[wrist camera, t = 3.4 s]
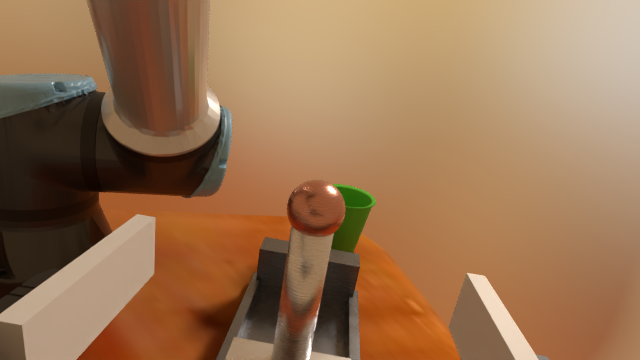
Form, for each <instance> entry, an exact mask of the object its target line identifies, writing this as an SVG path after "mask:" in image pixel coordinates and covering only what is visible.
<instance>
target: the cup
mask: <svg viewBox="0 0 640 360" xmlns="http://www.w3.org/2000/svg"><path fill="white" fill-rule="evenodd" d="M332 185H333V186H335V187H336V188H337V189H338V190H339V191H340V193H341V194H342V196H343V199H344V202H345V209H346V211H345V217H344V220H343V222H342V224H341V226H340V227H339V228H338V229H337V230H336V231H335V232H334V235H333V240H332V246H331V249H333V250H339V251H345V252H350V253H353V252H354V249H355V247H356V244H357V242H358V239H359V237H360V235H361V232H362V230H363V227H364V225H365V222H366V220H367V217H368V215H369V212H370V210H371V208H372V207H373V206H374V205H375V203H376V202H375V198H374V197H373V196H372V195H371V194H369V193H368V192H366V191H364V190H361V189H359V188H355V187H352V186H347V185H339V184H332Z"/></svg>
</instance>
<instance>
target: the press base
mask: <svg viewBox="0 0 640 360" xmlns="http://www.w3.org/2000/svg"><path fill="white" fill-rule="evenodd" d="M288 246H289V241H284V240H278V239H273V238H267V237H265V239H264V241H263V243H262V245H261V247H260V252H259V260H258V268H257V272H254V274H253V276H252V279H251V281H250V283H249V285H248V288H247V290H246V292H245V295H244V297H243V299H242V301H241V304H240V306H239V308H238V311H237V313H236V315H235V317H234V320H233V322H232V324H231V326H230V329H229V331H228V333H227V336H226V338H225V340H224V342H223V345H222V347H221V349H220V352H219V354H218V356H217V358H216V360H225V358H226V356H227V353H228V351H229V348H230V346H231V344H232V341H233V339H234V337H237V338H243V339H248V340H253V341H259V342H264V343H269V344H274V338H275V331H276V325H277V318H278V312H279V305H280V298H281V292H282V285H283V279H284V272H285V266H286V259H287V252H288ZM359 268H360V262H359V254H356V253H350V252H345V251H339V250H333V249H331V251H330V256H329V261H328V266H327V271H326V276H325V281H324V287H323V292H322V297H321V302H320V307H319V312H318V317H317V323H316V328H315V333H314V338H313V343H312V348H311V351H312V352H318V353H323V354H328V355H334V356H339V357H344V358H350V359H351V360H360V342H359V317H358V291H356V290H355V286H356V281H357V277H358V272H359Z"/></svg>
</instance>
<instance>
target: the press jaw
mask: <svg viewBox="0 0 640 360" xmlns="http://www.w3.org/2000/svg"><path fill="white" fill-rule="evenodd" d="M345 211H346V209H345V202H344V199H343V196H342V194H341V193H340V191H339V190H338V189H337V188H336V187H335V186H333V185H332V184H330V183H328V182H326V181H322V180H311V181H307V182H304V183H302V184H300V185H299V186H298V187H297V188H296V189H295V190H294V191H293V192H292V194H291V195H290V197H289V200H288V204H287V215H288V219H289V221H290V223H291V225H292V226H291V233H290V239H289V246H288V252H287V259H286V266H285V272H284V279H283V285H282V292H281V298H280V305H279V312H278V318H277V325H276V331H275V338H274V344H269V343H264V342H259V341H253V340H248V339H243V338H237V337H234V339H233V341H232V344H231V346H230V348H229V351H228V353H227V356H226V358H225V360H351V359H350V358H344V357H339V356H334V355H328V354H323V353H318V352H312V351H311V348H312V343H313V338H314V333H315V328H316V323H317V317H318V312H319V307H320V302H321V297H322V292H323V287H324V281H325V276H326V271H327V266H328V261H329V256H330V251H331V246H332V240H333V235H334V232H335V231H336V230H337V229H338V228H339V227H340V226H341V224H342V222H343V220H344V217H345Z"/></svg>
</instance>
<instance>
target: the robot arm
mask: <svg viewBox="0 0 640 360" xmlns="http://www.w3.org/2000/svg"><path fill="white" fill-rule="evenodd" d="M87 4H88V7H89V11H90V14H91V18H92V22H93V25H94V29H95V32H96V36H97V39H98V43H99V46H100V50H101V53H102V57H103V60H104V64H105V67H106V70H107V74H108V78H109V82H110V85H111V86H110V87H109V89H108V90H107V92H106V93H104V92H98V91H96V89H97V85H96V84H95V82H94V79H93V78H91V77H89V76H82V75H76V74H75V75H74V74H15V75H1V76H0V360H76V359H77V358H78V357H79V356H80V355H81V354H82V352H83V351H84V350H85V349H86V348H87V347H88V346H89V345H90V344H91V343H92V341H93V340H94V339H95V338H96V337H97V336H98V335H99V334H100V333H101V332H102V330H103V329H104V328H105V327H106V326H107V325H108V324H109V323H110V322H111V321H112V320H113V318H114V317H115V316H116V315H117V314H118V313H119V312H120V311H121V310H122V309H123V307H124V306H125V305H126V304H127V303H128V302H129V301H130V300H131V299H132V298H133V296H134V295H135V294H136V293H137V292H138V291H139V290H140V289H141V288H142V287H143V285H144V284H145V283H146V282H147V281H148V280H149V279H150V278H151V277H152V276H153V275H154V255H155V217H150V216H145V215H139V214H137V215H136V216H134V217H133V218H131V219H130V220H129V221H127V222H126V223H125V224H123V225H122V226H120V227H119V228H118V229H116V230H115V231H114V232H112V230H111V228H110V226H109V223H108V221H107V219H106V217H105V215H104V212H103V210H102V208H101V206H100V204H99V192H114V193H133V194H153V195H170V196H182V197H185V198H191V197H195V196H196V197H197V196H198V197H202V196H203V197H207V196H211V195H213V194H215V193H216V192H217V191H218V190H219V188H220V187H221V185H222V182H223V179H224V176H225V172H226V167H227V159H228V156H229V152H230V145H231V134H232V117H231V112H230V111H229V110H228V109H227V108H225V107H222V106H221V105H219V103H218V99H217V97H216V95H215V94H214V92H213V91H212V90H211V89H210V87H208V85H207V72H208V40H209V11H210V0H87ZM449 329H450V332H451V334H452V337H453V340H454V342H455V345H456V348H457V350H458V353H459V356H460V358H461V360H550V359H548V358H547V357H546V356H541V355H535V353H534V352H533V350H532V349H531V347H530V345H529V344H528V342H527V341H526V339H525V338H524V336H523V335H522V333H521V331H520V330H519V328H518V327H517V325H516V324H515V322H514V320H513V319H512V317H511V316H510V314H509V313H508V311H507V310H506V308H505V306H504V305H503V303H502V302H501V300H500V299H499V297H498V296H497V294H496V293H495V291H494V289H493V288H492V286H491V285H490V283H489V282H488V280H487V278H486V277H485V276H481V275H475V274H470V273H466V276H465V279H464V282H463V285H462V289H461V292H460V295H459V298H458V301H457V304H456V307H455V310H454V313H453V316H452V319H451V322H450V325H449Z"/></svg>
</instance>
